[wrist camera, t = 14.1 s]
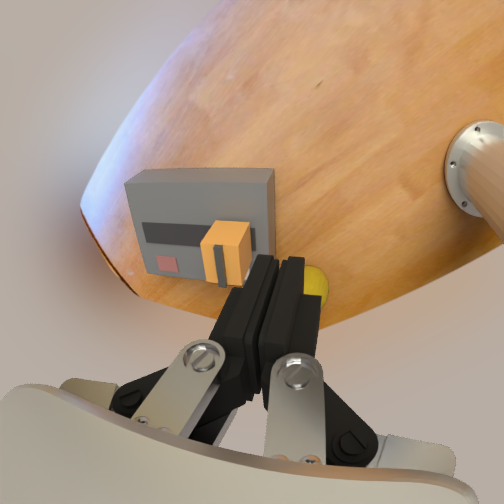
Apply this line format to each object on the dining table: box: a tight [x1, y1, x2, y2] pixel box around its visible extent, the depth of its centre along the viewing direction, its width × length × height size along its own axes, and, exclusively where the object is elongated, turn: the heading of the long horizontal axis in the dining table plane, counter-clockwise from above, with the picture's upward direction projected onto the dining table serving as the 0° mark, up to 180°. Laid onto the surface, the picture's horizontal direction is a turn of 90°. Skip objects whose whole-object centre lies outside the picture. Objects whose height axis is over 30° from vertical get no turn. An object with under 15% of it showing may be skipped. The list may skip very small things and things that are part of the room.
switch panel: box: [124, 168, 276, 285], centre depth 39 cm, size 18×14×5 cm
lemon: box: [304, 266, 329, 308], centre depth 39 cm, size 6×6×8 cm
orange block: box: [200, 220, 252, 288], centre depth 34 cm, size 4×5×6 cm
